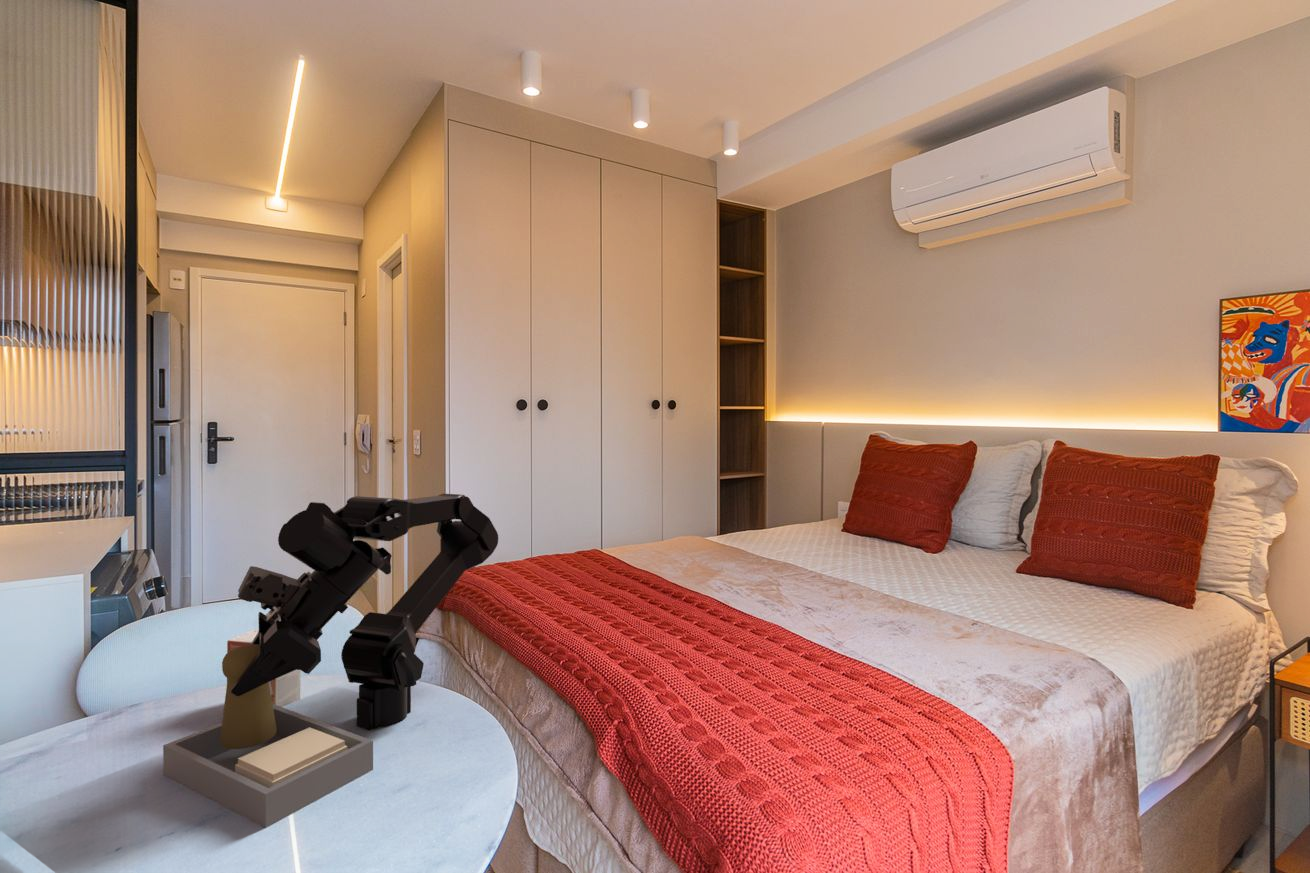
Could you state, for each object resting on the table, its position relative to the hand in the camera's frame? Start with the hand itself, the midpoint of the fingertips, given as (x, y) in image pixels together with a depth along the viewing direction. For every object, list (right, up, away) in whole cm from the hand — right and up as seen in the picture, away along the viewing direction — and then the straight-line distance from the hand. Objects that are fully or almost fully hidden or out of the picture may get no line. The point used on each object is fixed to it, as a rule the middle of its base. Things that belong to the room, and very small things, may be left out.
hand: (234, 685), depth 81 cm
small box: (-7, -10, +19) cm, 22 cm away
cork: (+1, -7, +1) cm, 7 cm away
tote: (+5, -11, -1) cm, 12 cm away
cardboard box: (+9, -10, -3) cm, 14 cm away
